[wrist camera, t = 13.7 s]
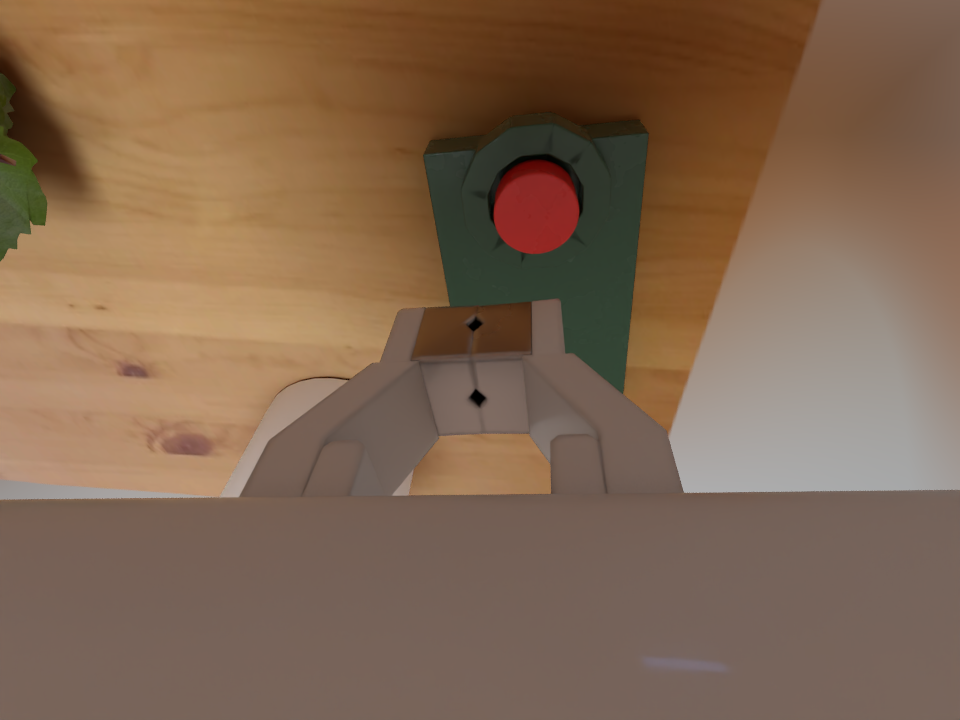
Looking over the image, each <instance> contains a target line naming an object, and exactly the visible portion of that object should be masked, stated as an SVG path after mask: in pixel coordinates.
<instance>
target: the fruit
mask: <svg viewBox="0 0 960 720" xmlns="http://www.w3.org/2000/svg"><path fill="white" fill-rule="evenodd" d="M15 91H16V88H15V86H14V85H13V84H12V83H11V82H10V81H9V80H8V79H7V78H6V77H5V75H4V74H2V73H0V261H1V260H2V259H3V258H4V256H5V254H6V252H7V250H8V248H12V249H17V238H18V236H19V234H20V233H24V234H31V228H30V221H31V222H32V223H33V225H44V226H45V222H46V213H47V200H46V197H45V195H44V193H43V192H42V190H41V187H40V185H39V183H38V180H37V178H36V176H35V175H34V173H33V171H32V169H31V168H32V167H33V165H34V164H36V163H37V162H38V160H37V159H36V158H35V157H34V155H33V154H32V153H31V152H30V151H29V150H28V149H27V148H26V147H25V146H24V145H23V144H22V143H21V142H18V141H16V140H13V139H11V138H8V136H7V132H8V130H7V129H11V128H12V126H13V122H12V121H11V120H10V118H9V116H8V114H7V113H8V112H12V111H14V109H13V108H12V106H11V105H10V103H9V101H10V99H11V97H12V95H13V94H14V93H15Z"/></svg>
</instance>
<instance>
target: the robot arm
mask: <svg viewBox="0 0 960 720" xmlns="http://www.w3.org/2000/svg"><path fill="white" fill-rule="evenodd" d="M466 434H530V437H531V438H532V439H533V441H534V442H535V444H536V445H537V446H538V448H539V449H540V451H541V452H542V453H543V455H544V456H545V457H546V459H547V460H548V462H549V463H550V464H551V494H506V495H412V496H392V495H393V493H394V492H395V491H396V490H397V489H398V487H399V486H400V485H401V484H402V483H403V481H404V480H405V479H406V478H407V476H408V475H409V474H410V473H411V472H412V470H413V469H414V468H415V467H416V466H417V464H418V463H419V462H420V461H421V460H422V458H423V457H424V456H425V455H426V453H427V452H428V451H429V450H430V449H431V447H432V446H433V445H434V444H435V443H436V441H437V440H438V439H439V437H438V436H448V435H466ZM0 720H960V490H922V491H921V490H912V491H820V492H819V491H816V492H815V491H811V492H732V493H730V492H728V493H684V492H683V488H682V485H681V481H680V477H679V474H678V470H677V467H676V463H675V460H674V456H673V452H672V449H671V445H670V442H669V438H668V435H667V431H666V430H665V429H664V428H663V427H662V426H661V425H659V424H658V423H657V422H656V421H654V420H653V419H652V418H651V417H650V416H648V415H647V414H646V413H645V412H644V411H642V410H641V409H640V408H639V407H638V406H636V405H635V404H634V403H633V402H632V401H630V400H629V399H628V398H627V397H626V396H624V395H623V394H622V393H621V392H619V391H618V390H617V389H616V388H615V387H613V386H612V385H611V384H610V383H609V382H607V381H606V380H605V379H604V378H603V377H601V376H600V375H599V374H598V373H597V372H595V371H594V370H593V369H592V368H591V367H589V366H588V365H587V364H586V363H585V362H583V361H582V360H581V359H580V358H578V357H577V356H576V355H575V354H573V353H568V354H565V345H564V334H563V323H562V312H561V301H560V300H559V299H549V300H539V301H532V303H531V302H520V303H508V304H497V305H485V306H479V305H472V306H449V307H428V308H425V307H423V308H409V309H401V310H400V311H398V313H397V315H396V318H395V321H394V324H393V326H392V329H391V332H390V335H389V338H388V340H387V343H386V346H385V349H384V352H383V355H382V357H381V360H380V363H371V364H370V365H369V366H367V367H366V368H365V369H363V370H362V371H361V372H359V373H358V374H357V375H355V376H354V377H353V378H351V379H350V380H349V381H347V382H346V383H345V384H343V385H342V386H341V387H339V388H338V389H337V390H335V391H334V392H333V393H331V394H330V395H328V396H327V397H326V398H324V399H323V400H322V401H320V402H319V403H318V404H316V405H315V406H314V407H312V408H311V409H310V410H308V411H307V412H306V413H304V414H303V415H302V416H300V417H299V418H298V419H296V420H295V421H294V422H292V423H291V424H290V425H288V426H287V427H286V428H284V429H283V430H282V431H280V432H279V433H278V434H276V435H275V436H274V437H272V438H271V439H269V440H268V442H267V444H266V446H265V448H264V450H263V452H262V454H261V456H260V458H259V460H258V461H257V463H256V465H255V467H254V469H253V471H252V473H251V475H250V477H249V479H248V481H247V482H246V484H245V486H244V488H243V490H242V492H241V494H240V496H239V497H220V498H130V499H129V498H124V499H123V498H121V499H28V500H27V499H25V500H24V499H23V500H21V499H20V500H0Z"/></svg>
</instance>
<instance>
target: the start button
mask: <svg viewBox="0 0 960 720" xmlns="http://www.w3.org/2000/svg"><path fill="white" fill-rule="evenodd" d="M578 219H579V204H578V199H577V194H576V190H575V186H574V183H573V181H572V179H571V177H570V176H569V174H568V173H567V172H566V171H565V170H564V169H563V168H562V167H560V166H559V165H557V164H555V163H553V162H550V161H547V160H540V159H536V160H528V161H525V162H522V163H519V164H517V165H516V166H514V167H512V168H511V169H510V170H509V171H508V172H507V173H506V174H505V175H504V176H503V178H502V179H501V181H500V183H499V185H498V187H497V190H496V195H495V204H494V223H495V227H496V229H497V232H498V234H499V235H500V237H501V238H502V239H503V240H504V242H506V243H507V244H508V245H509V246H511V247H512V248H514V249H516V250H518V251H520V252H524V253H529V254H540V253H546V252H549V251H552V250H554V249H556V248H558V247H559V246H561V245H562V244H563V243H565V242H566V241H567V240H568V239H569V238H570V236H571V235H572V233H573V232H574V230H575V228H576V226H577V223H578Z"/></svg>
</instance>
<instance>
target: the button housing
mask: <svg viewBox="0 0 960 720" xmlns="http://www.w3.org/2000/svg"><path fill="white" fill-rule="evenodd" d="M648 136H649V133H648V132H647V130H646V129H645V127H644V126H643V124H642V123H641V121H640V120H630V121H620V122H610V123H600V124H590V125H580V126H579V125H577V124H575V123H573V122H571V121H569V120H567V119H565V118H563V117H561V116H559V115H557V114H555V113H552V112H545V113H535V114H526V115H516V116H512V117H509V118H508V119H506V120H505V121H504V122H503V123H501V124H500V125H499V126H497V127H496V128H495V129H493V130H492V131H491V132H489V133H488V134H487V135H480V136H470V137H460V138H450V139H440V140H431V141H430V142H429V144H428V146H427V148H426V150H425V152H424V155H423V157H424V163H425V168H426V174H427V179H428V185H429V190H430V196H431V202H432V207H433V213H434V218H435V224H436V230H437V235H438V241H439V246H440V252H441V257H442V263H443V269H444V274H445V280H446V285H447V291H448V297H449V302H450V306H472V305H479V306H485V305H497V304H508V303H520V302H531V303H532V301H539V300H549V299H559V300H560V301H561V312H562V323H563V334H564V345H565V354H568V353H573V354H575V355H576V356H577V357H578V358H580V359H581V360H582V361H583V362H585V363H586V364H587V365H588V366H589V367H591V368H592V369H593V370H594V371H595V372H597V373H598V374H599V375H600V376H601V377H603V378H604V379H605V380H606V381H607V382H609V383H610V384H611V385H612V386H613V387H615V388H616V389H617V390H618V391H619V392H621V393H622V394H623V390H624V380H625V370H626V360H627V350H628V339H629V329H630V319H631V309H632V299H633V288H634V278H635V268H636V258H637V248H638V238H639V227H640V217H641V207H642V197H643V187H644V176H645V166H646V156H647V146H648ZM536 159H540V160H547V161H550V162H553V163H555V164H557V165H559V166H560V167H562V168H563V169H564V170H565V171H566V172H567V173H568V174H569V176H570V177H571V179H572V181H573V183H574V186H575V190H576V194H577V199H578V204H579V219H578V223H577V226H576V228H575V230H574V232H573V233H572V235H571V236H570V238H569V239H568V240H567V241H566V242H565V243H563V244H562V245H561V246H559V247H558V248H556V249H554V250H552V251H549V252H546V253H540V254H529V253H524V252H520V251H518V250H516V249H514V248H512V247H511V246H509V245H508V244H507V243H506V242H504V240H503V239H502V238H501V237H500V235H499V234H498V232H497V229H496V227H495V223H494V204H495V195H496V190H497V187H498V185H499V183H500V181H501V179H502V178H503V176H504V175H505V174H506V173H507V172H508V171H509V170H510V169H511V168H512V167H514V166H516V165H517V164H519V163H522V162H525V161H528V160H536Z"/></svg>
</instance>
